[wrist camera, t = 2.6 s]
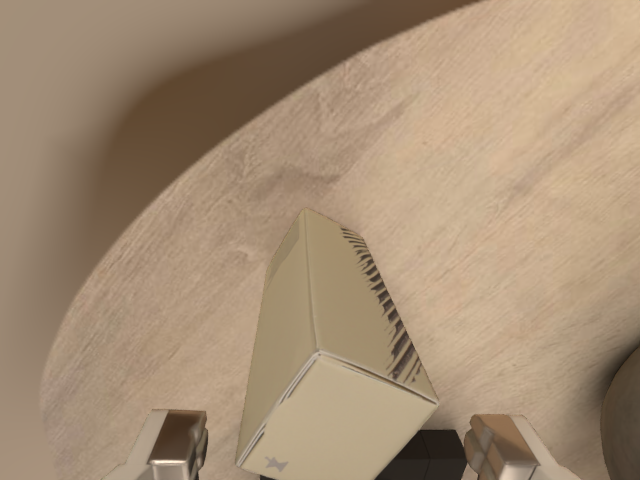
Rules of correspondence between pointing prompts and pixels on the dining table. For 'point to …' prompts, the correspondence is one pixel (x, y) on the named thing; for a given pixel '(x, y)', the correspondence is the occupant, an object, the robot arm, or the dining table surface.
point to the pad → (426, 458)
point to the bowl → (623, 422)
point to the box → (329, 364)
